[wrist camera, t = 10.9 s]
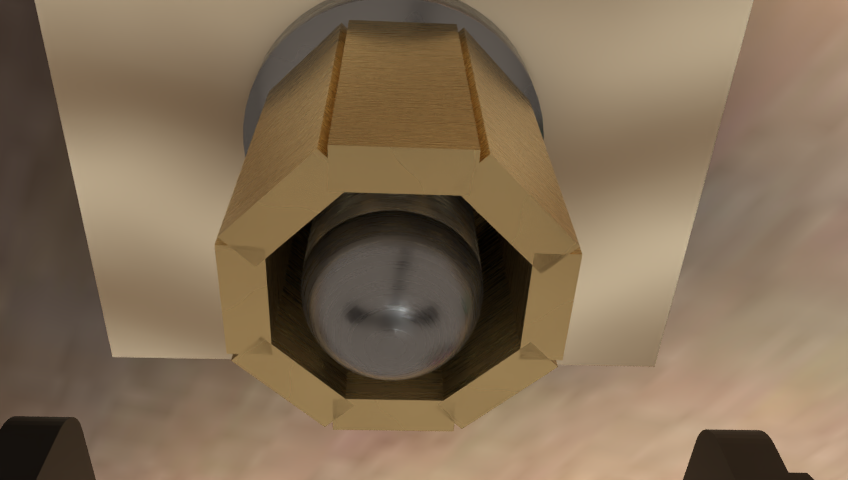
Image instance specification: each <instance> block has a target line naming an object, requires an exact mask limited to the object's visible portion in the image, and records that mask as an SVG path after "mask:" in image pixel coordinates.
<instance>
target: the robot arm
mask: <svg viewBox="0 0 848 480" xmlns="http://www.w3.org/2000/svg"><path fill="white" fill-rule="evenodd" d="M0 480H96V479H95V475H94V471H93V468H92V464H91V460H90V457H89V453H88V449H87V445H86V442H85V438H84V434H83V431H82V427H81V424H80V423H79V421H78V420H77V419H76V418H74V417H25V416H14V417H11V418H10V419H8V420H7V421H6V422H5V423H4V424H3V426H2V427H1V429H0ZM683 480H814V479H813V478H812V477H811V476H810V475H809V474H808V473H788V471H787V469H786V467H785V465H784V463H783V461H782V459H781V457H780V455H779V453H778V451H777V449H776V447H775V445H774V443H773V441H772V440H771V438H770V437H769V436H768V435H767V434H766V433H765V432H763V431H760V430H703V431H702V432H701V433H700V434H699V436H698V438H697V440H696V443H695V446H694V449H693V452H692V455H691V458H690V461H689V464H688V467H687V470H686V472H685V475H684V478H683Z"/></svg>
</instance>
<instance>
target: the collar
mask: <svg viewBox="0 0 848 480" xmlns="http://www.w3.org/2000/svg"><path fill="white" fill-rule="evenodd" d="M344 192H355V193H389V194H424V195H458V196H462V197H463V198H464V199H465V200H466V201H467V202H468V203H469V204H470V205H471V206H472V208H473V215H474V222H475V228H476V235H477V242H478V248H479V255H480V262H481V268H482V275H483V287H484V289H483V302H482V307H481V312H480V316H479V319H478V321H477V324H476V326H475V329H474V331H473V332H472V334H471V336H470V338H469V339H468V340H467V342H466V343H465V344H464V346H463V347H462V348H461V350H460V351H459V352H458V353H457V354H456V355H455V356H454V357H453V358H451V359H450V360H449V361H448V362H446V363H445V364H444V365H442V366H441V367H439V368H437V369H436V370H434V371H432V372H429V373H427V374H425V375H422V376H419V377H415V378H411V379H406V380H395V381H388V380H378V379H373V378H369V377H365V376H362V375H359V374H357V373H354V372H352V371H350V370H348V369H346V368H345V367H343V366H342V365H340V364H339V363H337V362H336V361H335V360H334V359H333V358H331V357H330V356H329V355H328V354H327V353H326V352H325V351H324V350H323V349H322V347H321V346H320V345H319V343H318V342H317V340H316V339H315V337H314V336H313V334H312V332H311V330H310V328H309V326H308V324H307V321H306V319H305V315H304V312H303V307H302V300H301V276H302V271H303V265H304V259H305V254H306V248H307V243H308V237H309V231H310V226H311V220H312V219H313V218H314V217H315V216H316V215H318V214H319V213H320V212H321V211H322V210H323V209H325V208H326V207H327V206H328V205H329V204H331V203H332V202H333V201H334V200H335V199H336V198H338V197H339V196H340V195H341V194H342V193H344ZM214 247H215V256H216V265H217V273H218V282H219V291H220V300H221V309H222V317H223V326H224V335H225V344H226V353H227V354H233V355H232V359H231V361H232V362H234V363H235V364H237V365H238V366H240V367H241V368H242V369H244V370H245V371H247V372H248V373H249V374H251V375H252V376H254V377H255V378H256V379H258V380H259V381H261V382H262V383H264V384H265V385H266V386H268V387H269V388H271V389H272V390H273V391H275V392H276V393H278V394H279V395H280V396H282V397H283V398H285V399H286V400H287V401H289V402H290V403H292V404H293V405H295V406H296V407H297V408H299V409H300V410H302V411H303V412H304V413H306V414H307V415H309V416H310V417H311V418H313V419H314V420H316V421H317V422H318V423H320V424H321V425H323V426H324V427H325V426H327V425H328V424H330V423H331V422H332V421H333V430H399V431H454V423H455V424H456V425H457V426H459V427H460V428H461V429H463V428H464V427H466V426H467V425H469V424H470V423H472V422H473V421H475V420H477V419H478V418H480V417H481V416H483V415H484V414H486V413H487V412H489V411H490V410H492V409H493V408H495V407H497V406H498V405H500V404H501V403H503V402H504V401H506V400H507V399H509V398H510V397H512V396H513V395H515V394H517V393H518V392H520V391H521V390H523V389H524V388H526V387H527V386H529V385H530V384H532V383H534V382H535V381H537V380H538V379H540V378H541V377H543V376H544V375H546V374H547V373H549V372H550V371H552V370H554V369H555V368H557V367H558V366H557V362H556V360H563V356H564V350H565V345H566V340H567V334H568V329H569V324H570V318H571V313H572V308H573V303H574V297H575V292H576V287H577V281H578V276H579V271H580V265H581V260H582V252H581V249H580V245H579V242H578V239H577V236H576V233H575V230H574V228H573V225H572V222H571V219H570V216H569V213H568V210H567V207H566V204H565V201H564V199H563V196H562V193H561V190H560V187H559V184H558V181H557V178H556V175H555V172H554V170H553V167H552V164H551V161H550V158H549V155H548V152H547V149H546V146H545V143H544V141H543V138H542V135H541V132H540V129H539V126H538V123H537V120H536V117H535V114H534V112H533V109H532V106H531V103H530V100H529V99H528V98H527V97H526V96H525V95H524V94H523V93H522V92H521V90H520V89H519V88H518V87H517V86H516V85H515V84H514V83H513V82H512V80H511V79H510V78H509V77H508V76H507V75H506V74H505V73H504V72H503V70H502V69H501V68H500V67H499V66H498V65H497V64H496V63H495V62H494V60H493V59H492V58H491V57H490V56H489V55H488V54H487V53H486V52H485V50H484V49H483V48H482V47H481V46H480V45H479V44H478V43H477V42H476V40H475V39H474V38H473V37H472V36H471V35H470V34H469V33H468V32H467V30H466V29H465V28H463V29H461V30H460V31H459V32H458V29H457V24H441V23H416V22H391V21H365V20H349V22H348V28H346V27H345V26H344V25H343V24H342V23H341V24H340V25H339V26H337V27H336V28H335V29H334V30H333V31H332V32H331V33H330V34H329V35H328V36H327V37H326V38H325V39H324V40H323V41H322V42H321V43H320V44H319V45H318V46H316V47H315V48H314V49H313V50H312V51H311V52H310V53H309V54H308V55H307V56H306V57H305V58H304V59H303V60H302V61H301V62H300V63H299V64H298V65H296V66H295V67H294V68H293V69H292V70H291V71H290V72H289V73H288V74H287V75H286V76H285V77H284V78H283V79H282V80H281V81H280V82H279V83H278V84H277V85H275V86H274V87H273V88H272V89H271V90H270V91H269V93H268V96H267V98H266V101H265V104H264V107H263V109H262V112H261V115H260V118H259V121H258V123H257V126H256V129H255V132H254V135H253V138H252V140H251V143H250V146H249V149H248V152H247V154H246V157H245V160H244V163H243V166H242V169H241V171H240V174H239V177H238V180H237V183H236V185H235V188H234V191H233V194H232V197H231V200H230V202H229V205H228V208H227V211H226V214H225V216H224V219H223V222H222V225H221V228H220V230H219V233H218V236H217V239H216V242H215V245H214Z"/></svg>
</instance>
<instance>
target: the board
mask: <svg viewBox="0 0 848 480" xmlns="http://www.w3.org/2000/svg"><path fill="white" fill-rule="evenodd" d="M324 1H326V0H35V4H36V9H37V13H38V18H39V23H40V27H41V32H42V36H43V41H44V45H45V50H46V55H47V59H48V64H49V68H50V73H51V77H52V82H53V87H54V91H55V96H56V100H57V105H58V109H59V114H60V119H61V123H62V128H63V132H64V137H65V141H66V146H67V151H68V155H69V160H70V164H71V169H72V173H73V178H74V183H75V187H76V192H77V196H78V201H79V205H80V210H81V215H82V219H83V224H84V228H85V233H86V237H87V242H88V247H89V251H90V256H91V260H92V265H93V269H94V274H95V279H96V283H97V288H98V292H99V297H100V301H101V306H102V311H103V315H104V320H105V324H106V329H107V333H108V338H109V343H110V347H111V352H112V356H113V357H141V358H197V359H232V355H233V354H227V353H226V344H225V335H224V326H223V317H222V309H221V300H220V291H219V282H218V273H217V265H216V256H215V247H214V245H215V242H216V239H217V236H218V233H219V230H220V228H221V225H222V222H223V219H224V216H225V214H226V211H227V208H228V205H229V202H230V200H231V197H232V194H233V191H234V188H235V185H236V183H237V180H238V177H239V174H240V171H241V169H242V166H243V163H244V160H245V152H244V145H243V123H244V115H245V108H246V104H247V101H248V98H249V94H250V91H251V88H252V86H253V83H254V81H255V78H256V76H257V73H258V71H259V69H260V67H261V65H262V62H263V60H264V58H265V56H266V55H267V53H268V51H269V50H270V48H271V47H272V45H273V44H274V42H275V41H276V40H277V39H278V37H279V36H280V35H281V34H282V33H283V32H284V31H285V29H286V28H287V27H288V26H289V25H290V24H292V23H293V22H294V21H295V20H296V19H297V18H299V17H300V16H301V15H302V14H304V13H305V12H307V11H308V10H310V9H311V8H313V7H315V6H316V5H318V4H319V3H321V2H324ZM460 1H462V2H464V3H465V4H467V5H469V6H471V7H473V8H474V9H476V10H477V11H479V12H480V13H481V14H483V15H484V16H485V17H487V18H488V19H489V20H491V21H492V22H493V23H494V24H495V25H496V26H497V27H498V28H499V29H500V30H501V31H502V32H503V33H504V34H505V35H506V36H507V37H508V39H509V40H510V41H511V43H512V44H513V45H514V47H515V48H516V49H517V51H518V53H519V54H520V56H521V58H522V60H523V62H524V63H525V65H526V68H527V70H528V73H529V75H530V78H531V81H532V83H533V86H534V89H535V91H536V94H537V97H538V99H539V104H540V108H541V113H542V117H543V130H544V143H545V146H546V149H547V152H548V155H549V158H550V161H551V164H552V167H553V170H554V172H555V175H556V178H557V181H558V184H559V187H560V190H561V193H562V196H563V199H564V201H565V204H566V207H567V210H568V213H569V216H570V219H571V222H572V225H573V228H574V230H575V233H576V236H577V239H578V242H579V245H580V249H581V252H582V260H581V265H580V271H579V276H578V281H577V287H576V292H575V297H574V303H573V308H572V313H571V318H570V324H569V329H568V334H567V340H566V345H565V350H564V356H563V360H556V362H557V365H592V366H649V367H655V363H656V359H657V355H658V352H659V348H660V344H661V341H662V337H663V333H664V330H665V326H666V322H667V318H668V315H669V311H670V307H671V304H672V300H673V296H674V293H675V289H676V285H677V282H678V278H679V274H680V270H681V267H682V263H683V259H684V256H685V252H686V248H687V245H688V241H689V237H690V233H691V230H692V226H693V222H694V219H695V215H696V211H697V208H698V204H699V200H700V196H701V193H702V189H703V185H704V182H705V178H706V174H707V171H708V167H709V163H710V160H711V156H712V152H713V148H714V145H715V141H716V137H717V134H718V130H719V126H720V123H721V119H722V115H723V111H724V108H725V104H726V100H727V97H728V93H729V89H730V86H731V82H732V78H733V74H734V71H735V67H736V63H737V60H738V56H739V52H740V49H741V45H742V41H743V38H744V34H745V30H746V26H747V23H748V19H749V15H750V12H751V8H752V4H753V1H754V0H460Z"/></svg>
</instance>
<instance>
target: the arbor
mask: <svg viewBox="0 0 848 480" xmlns="http://www.w3.org/2000/svg"><path fill="white" fill-rule="evenodd" d="M349 20H365V21H391V22H416V23H441V24H457V29H458V32H459V31H460V30H461V29H463V28H465V29H466V30H467V32H468V33H469V34H470V35H471V36H472V37H473V38H474V39H475V40H476V42H477V43H478V44H479V45H480V46H481V47H482V48H483V49H484V50H485V52H486V53H487V54H488V55H489V56H490V57H491V58H492V59H493V60H494V62H495V63H496V64H497V65H498V66H499V67H500V68H501V69H502V70H503V72H504V73H505V74H506V75H507V76H508V77H509V78H510V79H511V80H512V82H513V83H514V84H515V85H516V86H517V87H518V88H519V89H520V90H521V92H522V93H523V94H524V95H525V96H526V97H527V98H528V99H529V100H530V103H531V106H532V109H533V112H534V114H535V117H536V120H537V123H538V126H539V129H540V132H541V135H542V138H543V141H544V130H543V117H542V113H541V108H540V104H539V99H538V97H537V94H536V91H535V89H534V86H533V83H532V81H531V78H530V75H529V73H528V70H527V68H526V65H525V63H524V62H523V60H522V58H521V56H520V54H519V53H518V51H517V49H516V48H515V47H514V45H513V44H512V43H511V41H510V40H509V39H508V37H507V36H506V35H505V34H504V33H503V32H502V31H501V30H500V29H499V28H498V27H497V26H496V25H495V24H494V23H493V22H492V21H491V20H489V19H488V18H487V17H485V16H484V15H483V14H481V13H480V12H479V11H477V10H476V9H474V8H473V7H471V6H469V5H467V4H465V3H464V2H462V1H460V0H326V1H324V2H321V3H319V4H318V5H316V6H315V7H313V8H311V9H310V10H308V11H307V12H305V13H304V14H302V15H301V16H300V17H299V18H297V19H296V20H295V21H294V22H293V23H292V24H290V25H289V26H288V27H287V28H286V29H285V31H284V32H283V33H282V34H281V35H280V36H279V37H278V39H277V40H276V41H275V42H274V44H273V45H272V47H271V48H270V50H269V51H268V53H267V55H266V56H265V58H264V60H263V62H262V65H261V67H260V69H259V71H258V73H257V76H256V78H255V81H254V83H253V86H252V88H251V91H250V94H249V98H248V101H247V104H246V108H245V115H244V123H243V145H244V152H245V157H246V154H247V152H248V149H249V146H250V143H251V140H252V138H253V135H254V132H255V129H256V126H257V123H258V121H259V118H260V115H261V112H262V109H263V107H264V104H265V101H266V98H267V96H268V93H269V91H270V90H271V89H272V88H273V87H274V86H275V85H277V84H278V83H279V82H280V81H281V80H282V79H283V78H284V77H285V76H286V75H287V74H288V73H289V72H290V71H291V70H292V69H293V68H294V67H295V66H296V65H298V64H299V63H300V62H301V61H302V60H303V59H304V58H305V57H306V56H307V55H308V54H309V53H310V52H311V51H312V50H313V49H314V48H315V47H316V46H318V45H319V44H320V43H321V42H322V41H323V40H324V39H325V38H326V37H327V36H328V35H329V34H330V33H331V32H332V31H333V30H334V29H335V28H336V27H337V26H339V25H340V24H341V23H342V24H343V25H344V26H345V27H346V28H348V22H349ZM483 289H484V287H483V275H482V268H481V262H480V255H479V248H478V242H477V235H476V228H475V222H474V215H473V208H472V206H471V205H470V204H469V203H468V202H467V201H466V200H465V199H464V198H463V197H462V196H458V195H424V194H389V193H355V192H344V193H342V194H341V195H340V196H339V197H338V198H336V199H335V200H334V201H333V202H332V203H331V204H329V205H328V206H327V207H326V208H325V209H323V210H322V211H321V212H320V213H319V214H318V215H316V216H315V217H314V218H313V219H312V220H311V226H310V231H309V237H308V243H307V248H306V254H305V259H304V265H303V271H302V276H301V300H302V307H303V312H304V315H305V319H306V321H307V324H308V326H309V328H310V330H311V332H312V334H313V336H314V337H315V339H316V340H317V342H318V343H319V345H320V346H321V347H322V349H323V350H324V351H325V352H326V353H327V354H328V355H329V356H330V357H331V358H333V359H334V360H335V361H336V362H337V363H339V364H340V365H342V366H343V367H345V368H346V369H348V370H350V371H352V372H354V373H357V374H359V375H362V376H365V377H369V378H373V379H378V380H388V381H395V380H406V379H411V378H415V377H419V376H422V375H425V374H427V373H429V372H432V371H434V370H436V369H437V368H439V367H441V366H442V365H444V364H445V363H446V362H448V361H449V360H450V359H451V358H453V357H454V356H455V355H456V354H457V353H458V352H459V351H460V350H461V348H462V347H463V346H464V344H465V343H466V342H467V340H468V339H469V338H470V336H471V334H472V332H473V331H474V329H475V326H476V324H477V321H478V319H479V316H480V312H481V307H482V302H483Z"/></svg>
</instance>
